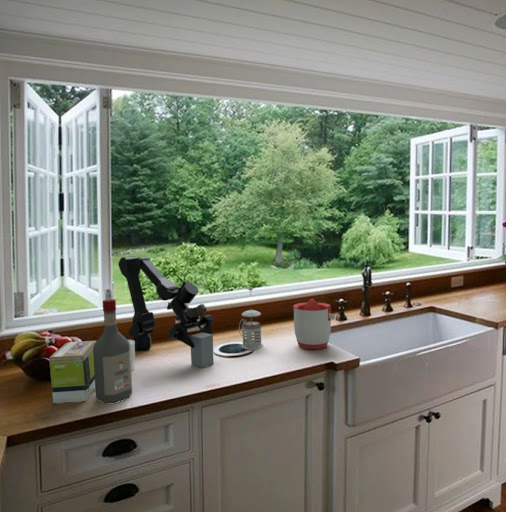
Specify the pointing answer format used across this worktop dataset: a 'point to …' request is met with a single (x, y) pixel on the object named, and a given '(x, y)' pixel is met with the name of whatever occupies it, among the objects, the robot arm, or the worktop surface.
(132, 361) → the white cup
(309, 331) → the citrus juicer
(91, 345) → the tea box
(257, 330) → the french press
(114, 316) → the liquor
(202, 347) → the grey tall block
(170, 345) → the worktop surface
